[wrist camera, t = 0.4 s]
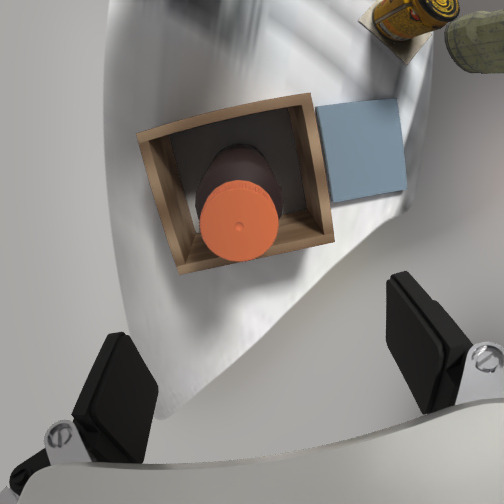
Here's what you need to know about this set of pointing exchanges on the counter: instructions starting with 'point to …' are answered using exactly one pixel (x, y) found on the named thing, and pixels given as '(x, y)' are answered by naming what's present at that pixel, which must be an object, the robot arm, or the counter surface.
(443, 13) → the condiment
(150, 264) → the counter surface
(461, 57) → the thermos
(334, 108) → the mat
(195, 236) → the crate
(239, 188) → the vinegar
